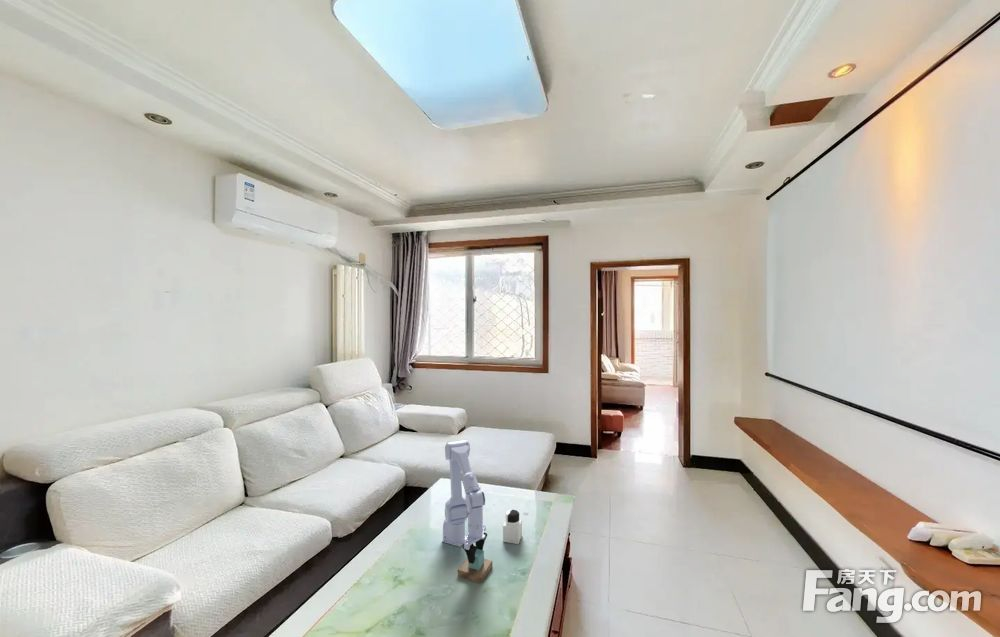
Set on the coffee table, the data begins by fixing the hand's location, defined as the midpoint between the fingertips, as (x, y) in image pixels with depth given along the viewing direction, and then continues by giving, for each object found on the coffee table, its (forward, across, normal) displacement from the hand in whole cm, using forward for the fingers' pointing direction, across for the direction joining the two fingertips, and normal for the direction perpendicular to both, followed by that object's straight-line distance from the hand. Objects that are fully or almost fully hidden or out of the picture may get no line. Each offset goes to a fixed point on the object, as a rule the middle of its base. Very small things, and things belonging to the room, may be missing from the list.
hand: (475, 557), depth 148 cm
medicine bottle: (+6, +26, -5) cm, 27 cm away
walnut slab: (+6, 0, 0) cm, 6 cm away
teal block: (+3, 0, 0) cm, 3 cm away
